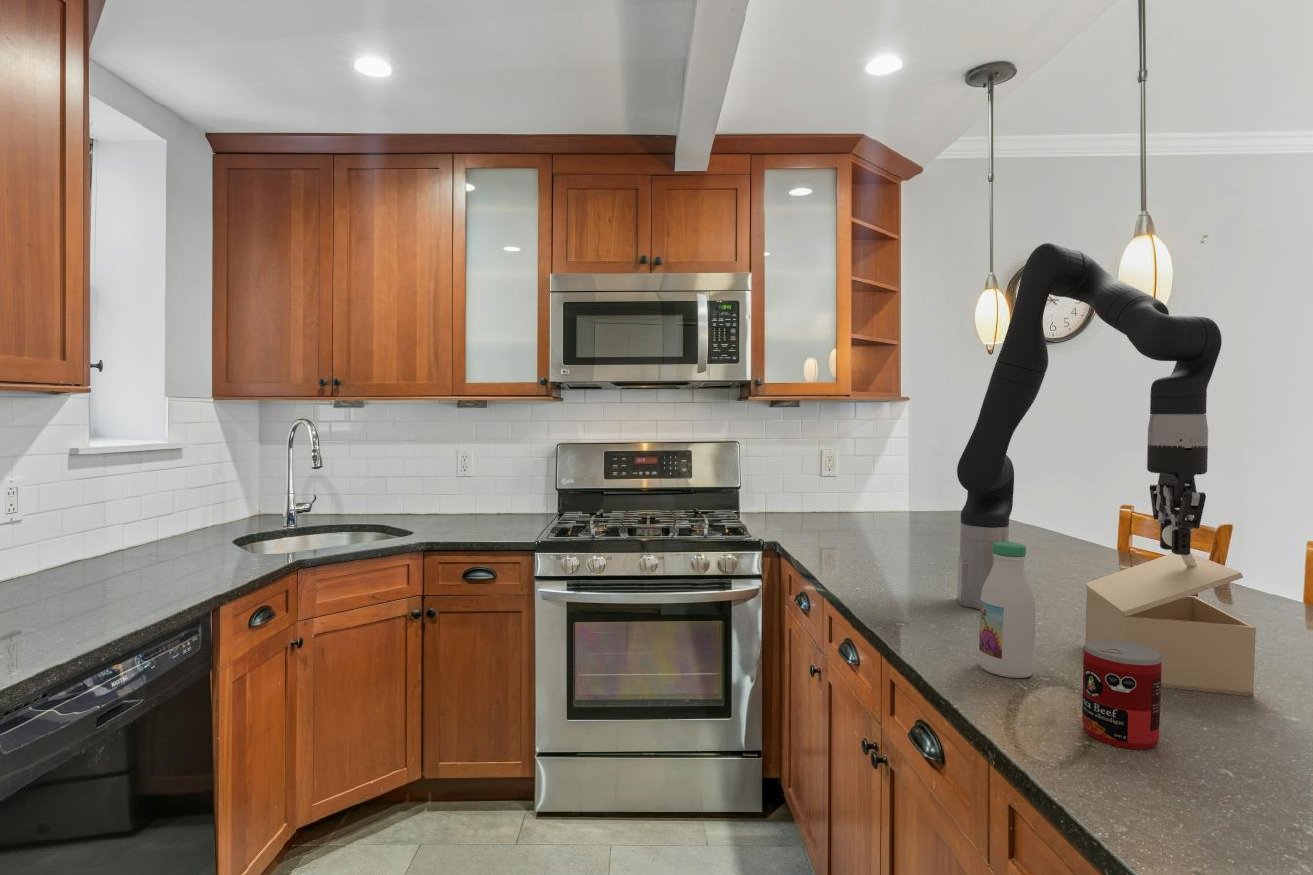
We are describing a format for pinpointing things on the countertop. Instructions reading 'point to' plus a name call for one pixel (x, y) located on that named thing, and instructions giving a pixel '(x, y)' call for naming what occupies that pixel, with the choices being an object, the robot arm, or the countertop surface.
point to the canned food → (1121, 693)
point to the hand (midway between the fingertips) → (1174, 551)
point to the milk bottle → (1007, 615)
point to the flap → (1161, 580)
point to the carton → (1184, 642)
